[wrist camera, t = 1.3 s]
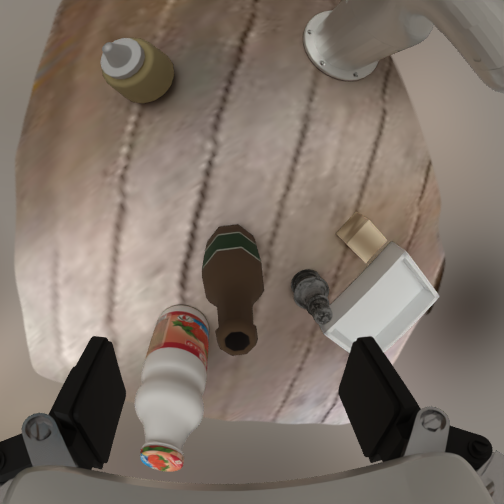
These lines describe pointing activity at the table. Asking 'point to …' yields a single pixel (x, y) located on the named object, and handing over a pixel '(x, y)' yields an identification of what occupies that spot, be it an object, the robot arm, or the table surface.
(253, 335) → the beer bottle
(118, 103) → the table surface
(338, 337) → the tote
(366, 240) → the beech cube
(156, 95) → the squeeze bottle
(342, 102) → the table surface
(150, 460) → the fruit juice
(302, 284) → the chess piece
